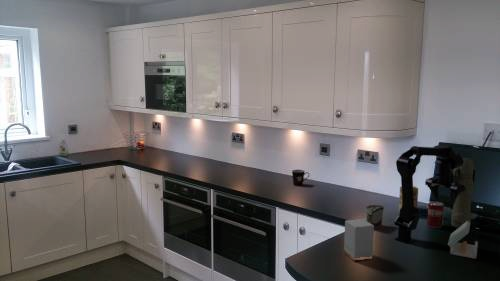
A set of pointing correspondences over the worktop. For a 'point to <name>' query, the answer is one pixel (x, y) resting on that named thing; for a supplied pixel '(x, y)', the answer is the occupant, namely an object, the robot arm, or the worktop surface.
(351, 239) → the supplement box
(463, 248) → the beige tray
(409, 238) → the robot arm
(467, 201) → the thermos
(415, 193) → the candy box
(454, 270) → the worktop surface
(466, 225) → the cover
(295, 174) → the coffee mug
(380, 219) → the food container
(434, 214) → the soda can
